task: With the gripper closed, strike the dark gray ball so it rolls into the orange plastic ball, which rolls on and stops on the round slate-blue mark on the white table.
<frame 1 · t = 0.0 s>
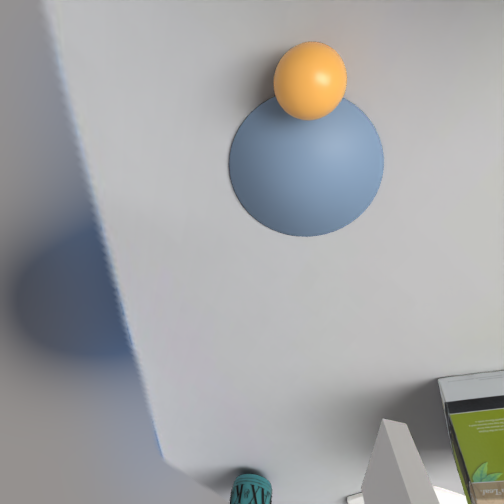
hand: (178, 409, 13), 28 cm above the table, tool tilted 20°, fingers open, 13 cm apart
tea box: (485, 409, 51), on the table
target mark: (304, 169, 37), on the table
object ball: (309, 82, 31), on the table
beverage bottle: (254, 473, 67), on the table
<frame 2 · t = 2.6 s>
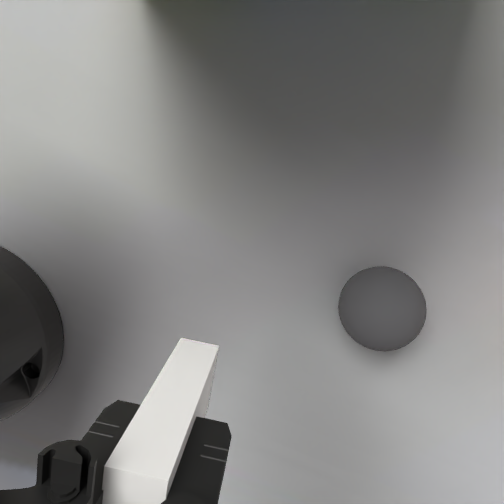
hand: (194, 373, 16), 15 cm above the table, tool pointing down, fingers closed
dark gray ball: (380, 308, 27), on the table
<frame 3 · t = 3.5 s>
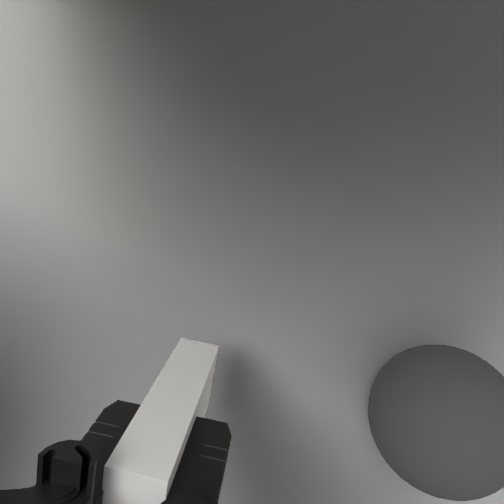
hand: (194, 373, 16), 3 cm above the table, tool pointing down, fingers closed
dark gray ball: (441, 417, 16), on the table
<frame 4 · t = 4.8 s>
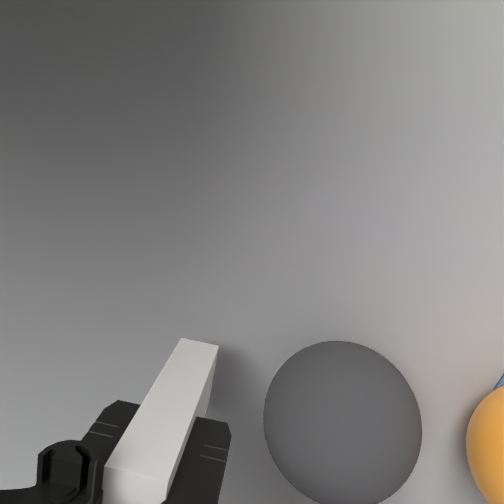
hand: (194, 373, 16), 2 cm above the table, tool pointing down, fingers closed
dark gray ball: (339, 418, 15), on the table
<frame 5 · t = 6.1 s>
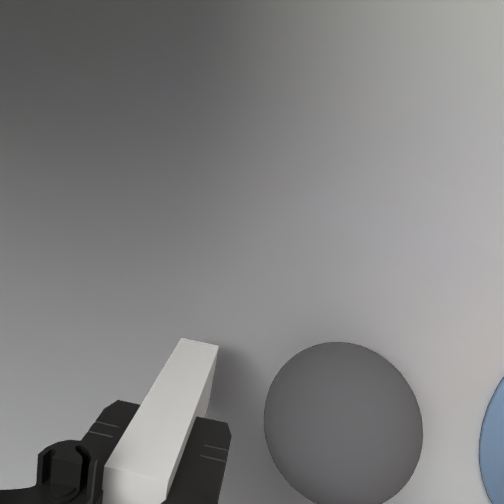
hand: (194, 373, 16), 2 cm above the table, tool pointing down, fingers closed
dark gray ball: (340, 420, 15), on the table
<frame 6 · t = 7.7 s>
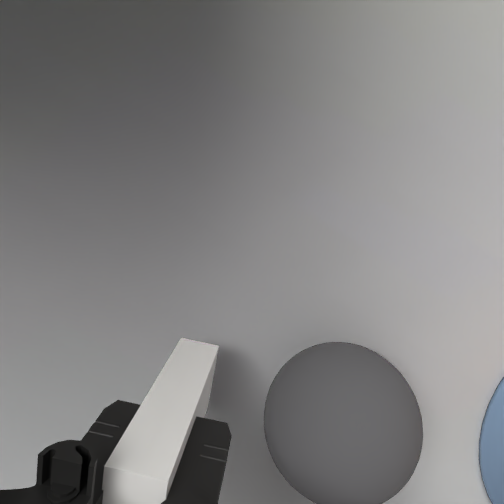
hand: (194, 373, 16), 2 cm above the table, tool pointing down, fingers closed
dark gray ball: (340, 420, 15), on the table
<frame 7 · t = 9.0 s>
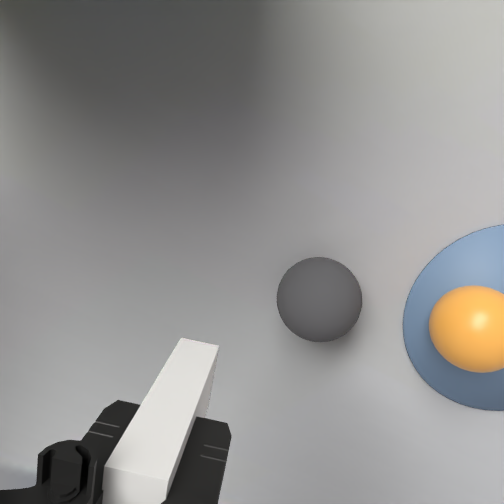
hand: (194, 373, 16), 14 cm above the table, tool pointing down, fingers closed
dark gray ball: (318, 299, 27), on the table
object ball: (475, 328, 26), on the table
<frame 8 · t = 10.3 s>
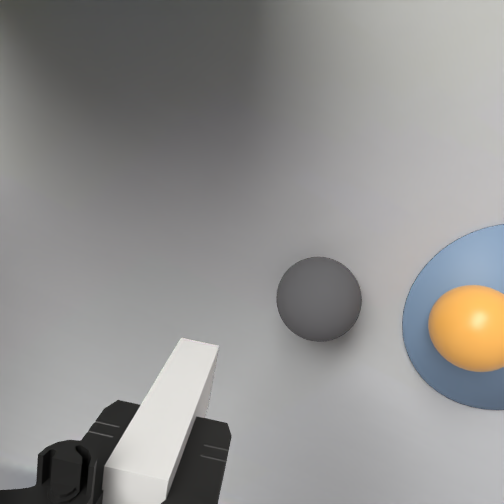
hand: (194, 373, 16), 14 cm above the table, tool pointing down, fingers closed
dark gray ball: (318, 298, 27), on the table
object ball: (474, 327, 26), on the table
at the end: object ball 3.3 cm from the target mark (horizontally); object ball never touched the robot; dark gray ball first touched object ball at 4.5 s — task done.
